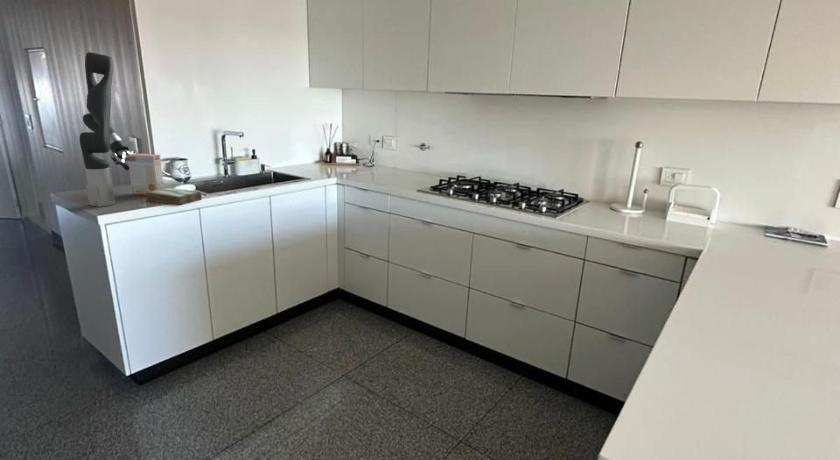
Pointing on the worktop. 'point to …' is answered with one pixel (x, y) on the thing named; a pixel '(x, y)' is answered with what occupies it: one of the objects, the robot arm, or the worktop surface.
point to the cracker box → (145, 173)
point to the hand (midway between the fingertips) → (135, 168)
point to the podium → (173, 196)
